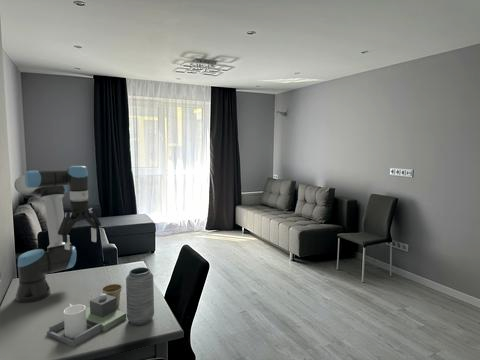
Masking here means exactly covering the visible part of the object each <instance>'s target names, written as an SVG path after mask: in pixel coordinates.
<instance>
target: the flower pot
mask: <svg viewBox="0 0 480 360" xmlns="http://www.w3.org/2000/svg"><path fill="white" fill-rule="evenodd" d="M122 288H123V285H122V284H119V283H113V284H111V283H110V284H107V285H104V286H103V287H102V288H101V292H102V294H103V293H105V294H107V295H110V296H113V297H116V299H117V307H118V306H119V304H120V301H121V292H122Z"/></svg>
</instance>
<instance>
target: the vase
mask: <svg viewBox="0 0 480 360" xmlns="http://www.w3.org/2000/svg"><path fill="white" fill-rule="evenodd" d="M150 270H151V269H149V267H146V266H145V267H135V268H133V269H130V270H129V272H128V274H127V276H126V277H125V288H126V289H125V290H126V293H125V294H126V319H127V320H128V321H129V322H130V323H131V324H132V325H134V326H142V325H147V324H149V322H150V321H151V320H152V319H153V317H154V316H155V295H154V294H155V293H154V291H155V290H154V287H155V286H154V275H153V273H152V272H151V271H150Z"/></svg>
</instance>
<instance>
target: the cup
mask: <svg viewBox="0 0 480 360" xmlns="http://www.w3.org/2000/svg"><path fill="white" fill-rule="evenodd" d="M86 308H87V307H86V305H84V304H74V305H72V304H71V303H68V307H66V308H65V309H64V310H63V320H64V328H63V329H64V337H66V338H68V339H74V337H76V336H77V335H79V334H81V333H83V332H85V331H86V330H88V329H87V328H88V327H87V326H88V325H87V324H86Z"/></svg>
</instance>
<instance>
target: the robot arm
mask: <svg viewBox="0 0 480 360" xmlns="http://www.w3.org/2000/svg"><path fill="white" fill-rule="evenodd" d="M88 175H89V172H88V168H87V166H85V165H71V166H69V167H68V168H65V169H46V170H45V169H43V170H42V169H40V170H38V169H33V170H27V171H26V172H25V174H23V175H21V176H19V177H17V178H16V180H15V181H14V189H15V190H16V191H17V192H19V193H20V194H22V195H25V196H40V199H41V200H42V201H44V209H45V216H46V224H47V231H48V240H49V241H48V242H49V245H48V246H47V247H46V249H47V250H44V249H43V248H38V249H32V250H28V251H26V252H23V253H21V254H20V255H19V256H18V258H17V272H18V286H17V290H16V293H15V300H16V302H19V303H32V302H36V301H40V300H42V299H44V298H47V297H48V296H49V295H50V294H51V288H50V285H49V283H48V282H47V279H46V275H47V274H52V273H55V272H60V271H63V270H65V271H66V270H68V269H71V268H73V267H74V266H75V265H76V262H77V249H76V246H75V245H72V243H71V242H70V235H69V233H70V232H71V230H72V229H73V228H74V226H75V224H76V223H77V222H80V221H83V220H84V221H86V222H87V223H88V224H89V225H90V226H91V228H90V234H91V235H90V236H91V242H93V243H97V240H98V239H97V235H98V229H99V228H100V227H101V226H102V224H101V221H100V219H99V218H98V215H97V213H96V210H95V208H93V207H90V205H89V203H90V202H89V178H88V177H89V176H88ZM68 186H69V200H70V201H69V203H70V205H69V207H70V212H67V211H66V212H65V211H64V205H63V204H64V203H63V198H64V197H65V194H66V193H67V192H68ZM90 216H91V217H90Z"/></svg>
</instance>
